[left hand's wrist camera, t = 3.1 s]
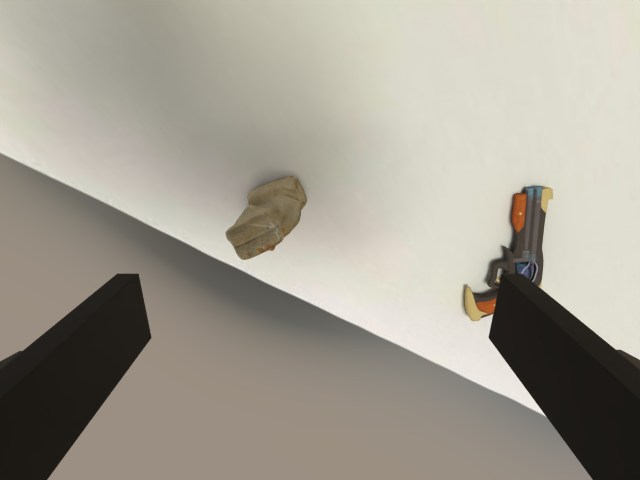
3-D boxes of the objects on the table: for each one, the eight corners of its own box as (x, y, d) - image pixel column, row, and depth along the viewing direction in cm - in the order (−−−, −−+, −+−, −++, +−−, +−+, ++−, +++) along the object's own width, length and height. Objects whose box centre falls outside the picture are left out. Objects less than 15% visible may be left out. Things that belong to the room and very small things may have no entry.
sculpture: (244, 185, 45) (210, 219, 31) (295, 164, 44) (284, 190, 30) (263, 225, 47) (239, 274, 33) (313, 205, 46) (309, 248, 32)
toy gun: (467, 325, 50) (543, 324, 49) (473, 192, 45) (558, 187, 43) (462, 315, 53) (534, 314, 51) (467, 189, 47) (547, 184, 46)
